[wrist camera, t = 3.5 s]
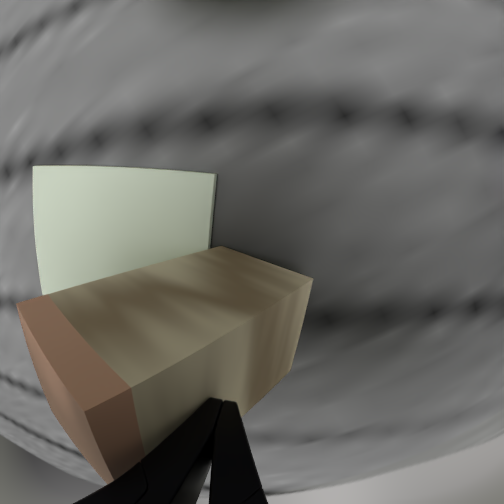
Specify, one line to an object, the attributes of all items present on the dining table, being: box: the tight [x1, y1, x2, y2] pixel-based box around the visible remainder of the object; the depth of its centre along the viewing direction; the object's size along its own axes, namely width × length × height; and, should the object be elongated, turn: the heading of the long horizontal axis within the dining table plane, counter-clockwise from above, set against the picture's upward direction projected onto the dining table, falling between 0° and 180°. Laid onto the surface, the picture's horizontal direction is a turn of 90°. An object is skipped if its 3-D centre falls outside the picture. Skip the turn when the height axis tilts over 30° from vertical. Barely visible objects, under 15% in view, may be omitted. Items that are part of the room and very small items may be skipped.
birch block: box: [16, 246, 313, 484], centre depth 10 cm, size 5×5×10 cm
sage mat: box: [33, 165, 217, 295], centre depth 16 cm, size 12×12×1 cm
